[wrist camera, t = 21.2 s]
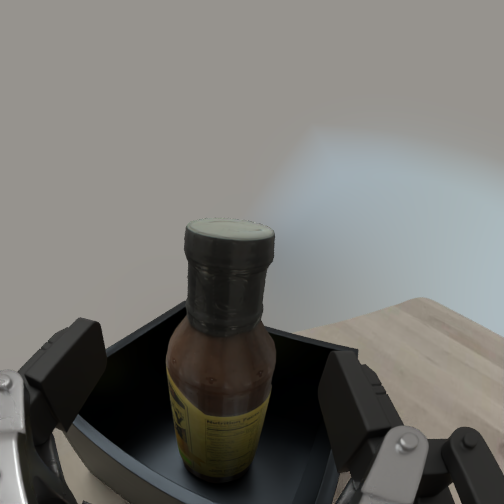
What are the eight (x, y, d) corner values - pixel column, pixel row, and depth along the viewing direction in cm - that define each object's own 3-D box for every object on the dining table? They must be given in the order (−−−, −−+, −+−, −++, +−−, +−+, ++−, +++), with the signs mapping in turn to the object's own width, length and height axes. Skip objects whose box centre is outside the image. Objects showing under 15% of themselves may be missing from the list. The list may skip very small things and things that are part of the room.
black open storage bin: (88, 470, 13) (39, 389, 11) (185, 380, 28) (184, 300, 26) (272, 565, 8) (317, 545, 5) (325, 428, 23) (358, 349, 20)
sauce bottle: (187, 427, 21) (185, 208, 16) (253, 436, 21) (292, 219, 16) (173, 480, 15) (139, 229, 9) (251, 492, 15) (312, 248, 9)
